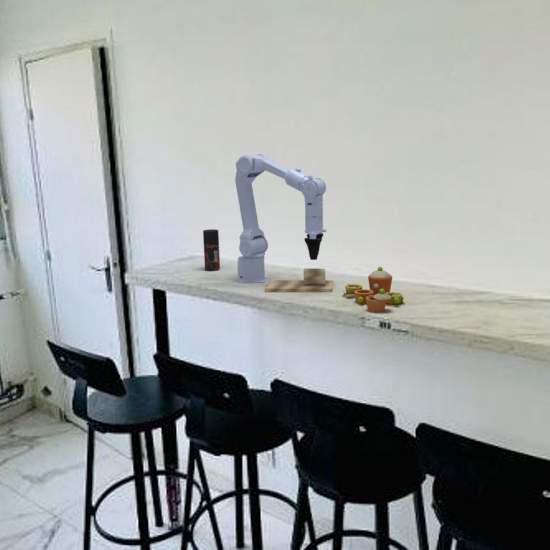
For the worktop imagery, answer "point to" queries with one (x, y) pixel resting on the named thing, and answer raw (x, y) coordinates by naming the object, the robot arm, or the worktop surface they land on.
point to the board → (296, 286)
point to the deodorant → (211, 249)
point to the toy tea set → (375, 292)
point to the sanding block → (314, 277)
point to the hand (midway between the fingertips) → (314, 257)
